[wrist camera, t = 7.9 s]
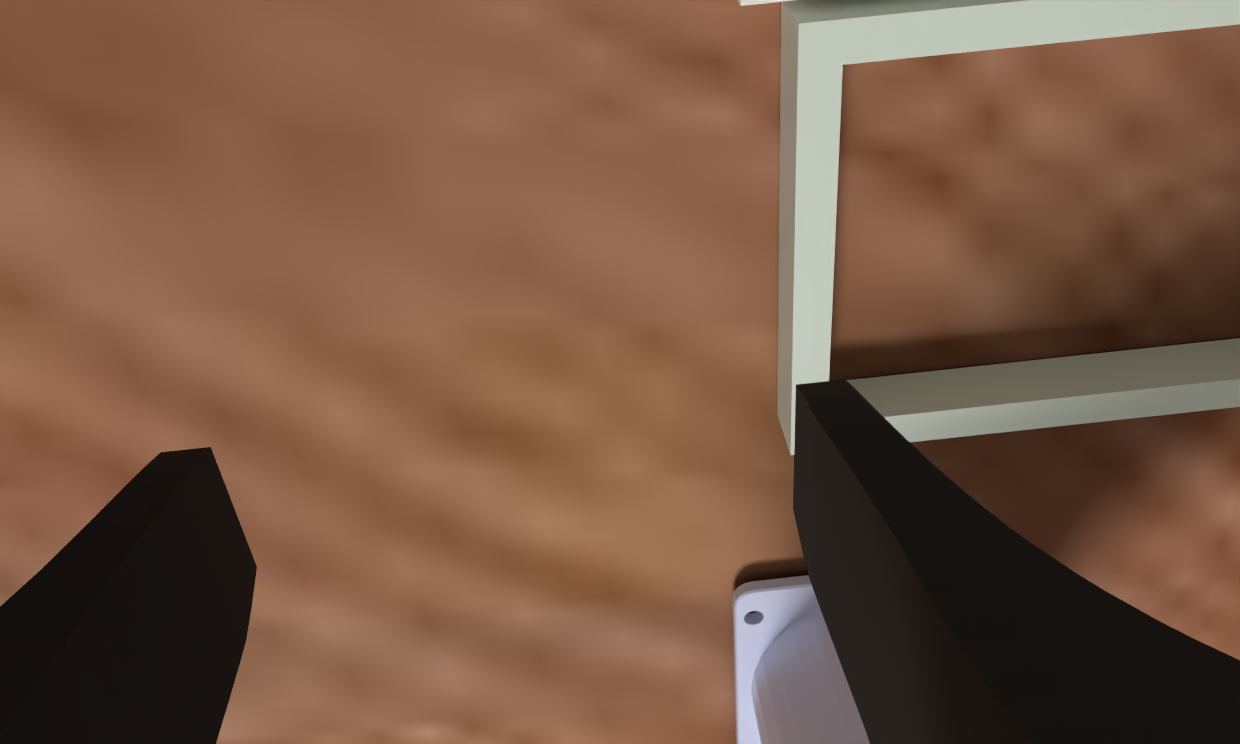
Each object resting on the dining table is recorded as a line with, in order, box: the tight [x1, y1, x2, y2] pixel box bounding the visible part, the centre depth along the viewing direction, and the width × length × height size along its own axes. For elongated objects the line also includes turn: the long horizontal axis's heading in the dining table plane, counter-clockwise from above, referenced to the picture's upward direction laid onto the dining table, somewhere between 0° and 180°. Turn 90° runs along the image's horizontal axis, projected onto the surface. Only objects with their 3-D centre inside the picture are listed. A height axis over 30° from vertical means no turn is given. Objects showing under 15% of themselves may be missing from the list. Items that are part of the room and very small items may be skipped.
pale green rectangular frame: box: [777, 0, 1240, 455], centre depth 22 cm, size 10×14×2 cm
